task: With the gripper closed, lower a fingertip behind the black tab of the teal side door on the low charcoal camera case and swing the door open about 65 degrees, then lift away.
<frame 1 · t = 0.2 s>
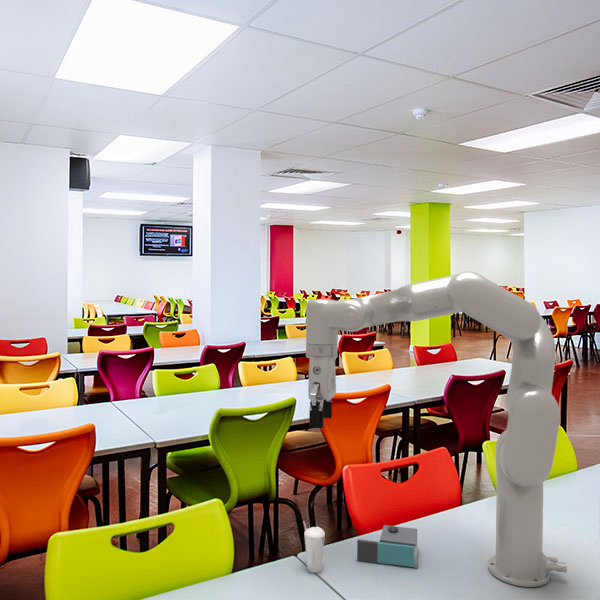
hand: (321, 422, 131), 30 cm above the table, tool pointing down, fingers open, 9 cm apart
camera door: (387, 553, 124), point 3 cm above the table, hinge at 0.0°
milkshake: (312, 569, 122), on the table
camera case: (398, 555, 128), on the table
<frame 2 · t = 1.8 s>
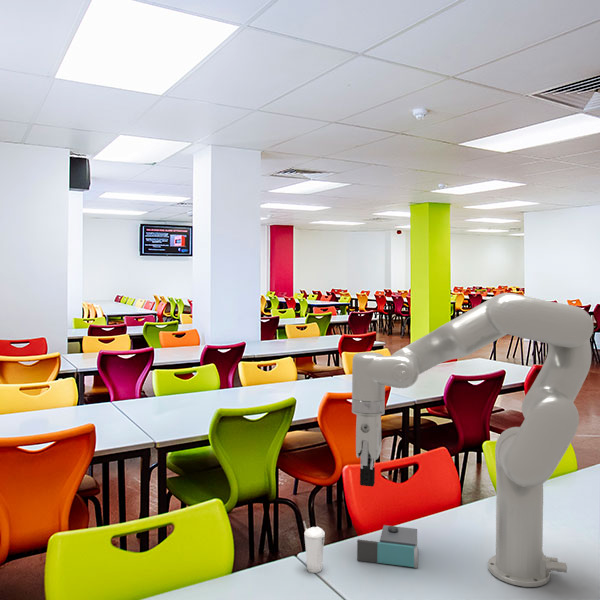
hand: (367, 484, 127), 17 cm above the table, tool pointing down, fingers closed
nothing on the table moved.
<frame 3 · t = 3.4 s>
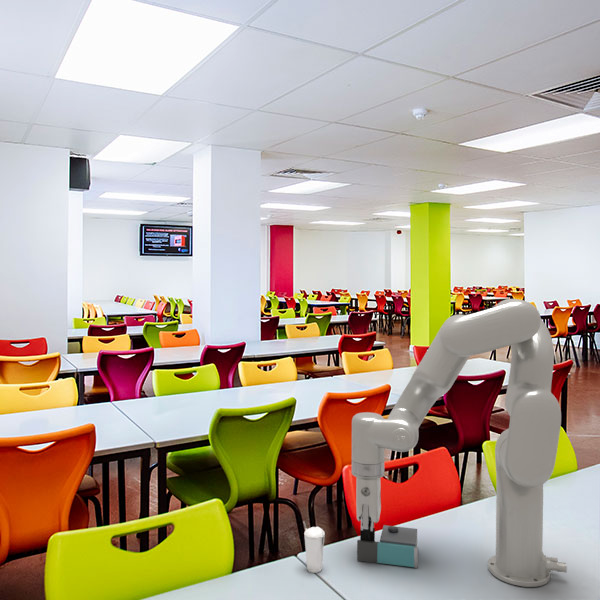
hand: (367, 545, 127), 3 cm above the table, tool pointing down, fingers closed
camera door: (387, 553, 124), point 3 cm above the table, hinge at 0.5°, touching gripper
everything else where it was.
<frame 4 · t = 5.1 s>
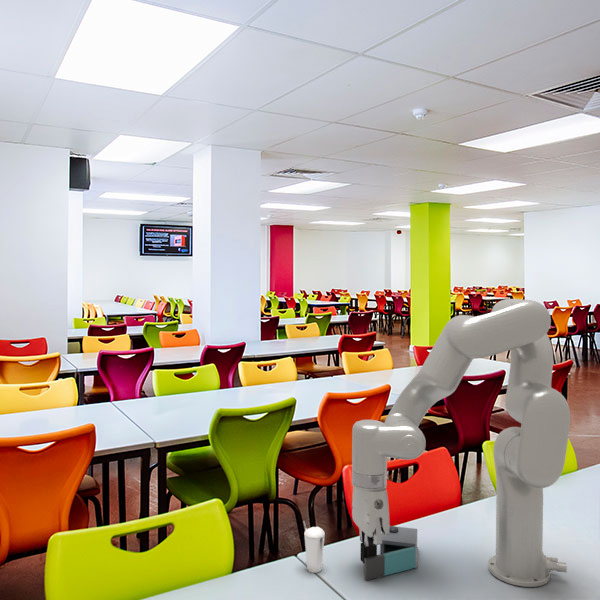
hand: (368, 561, 120), 3 cm above the table, tool pointing down, fingers closed
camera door: (391, 562, 120), point 3 cm above the table, hinge at 39.4°, touching gripper
everything else where it was.
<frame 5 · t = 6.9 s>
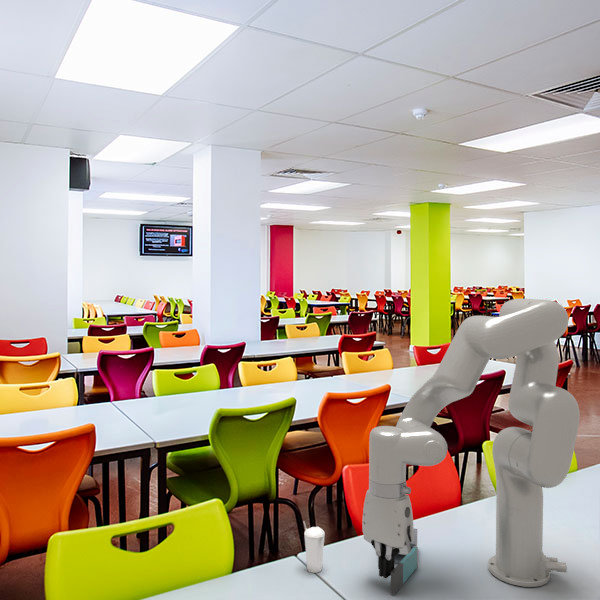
hand: (386, 574, 114), 3 cm above the table, tool pointing down, fingers closed
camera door: (405, 568, 117), point 3 cm above the table, hinge at 72.4°, touching gripper
everything else where it was.
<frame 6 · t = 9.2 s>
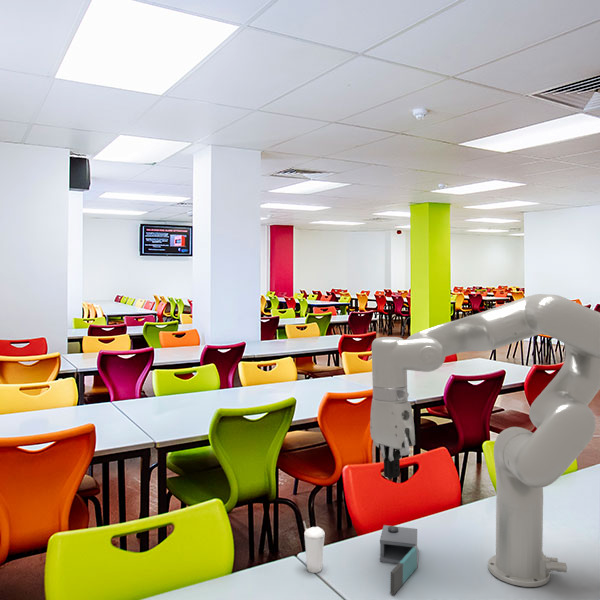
hand: (392, 476, 121), 21 cm above the table, tool pointing down, fingers closed
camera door: (404, 568, 117), point 3 cm above the table, hinge at 72.1°
everything else where it was.
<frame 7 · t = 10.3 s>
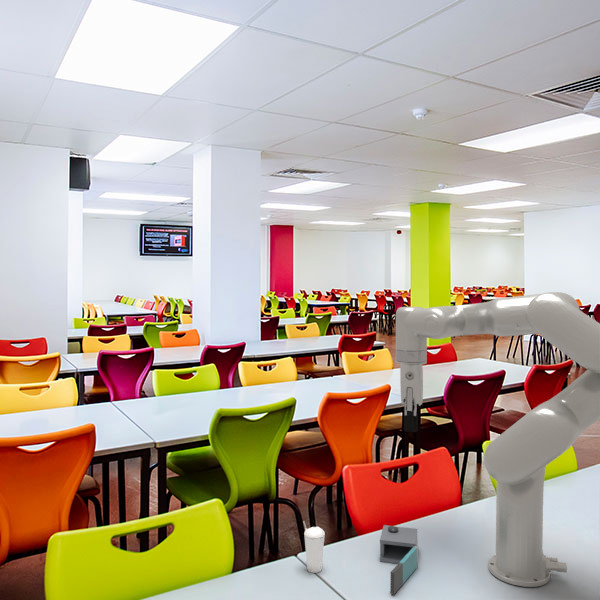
hand: (410, 430, 136), 27 cm above the table, tool pointing down, fingers closed
nothing on the table moved.
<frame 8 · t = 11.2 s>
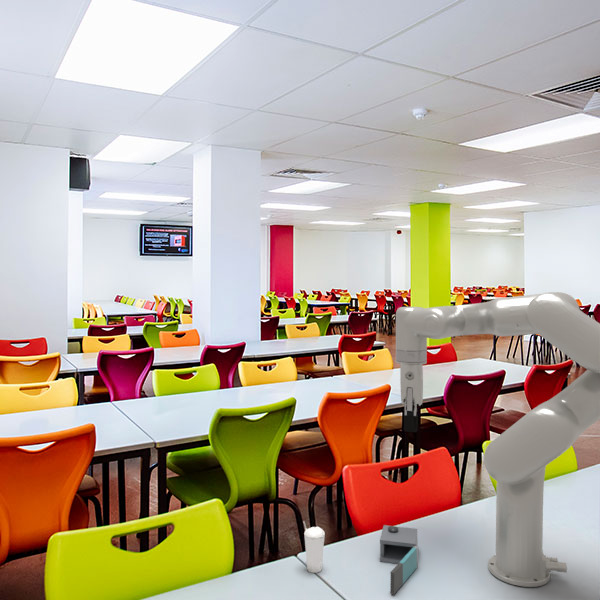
hand: (410, 430, 136), 27 cm above the table, tool pointing down, fingers closed
nothing on the table moved.
at the end: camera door at +72° (first picture: +0°); the gripper is holding nothing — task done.
